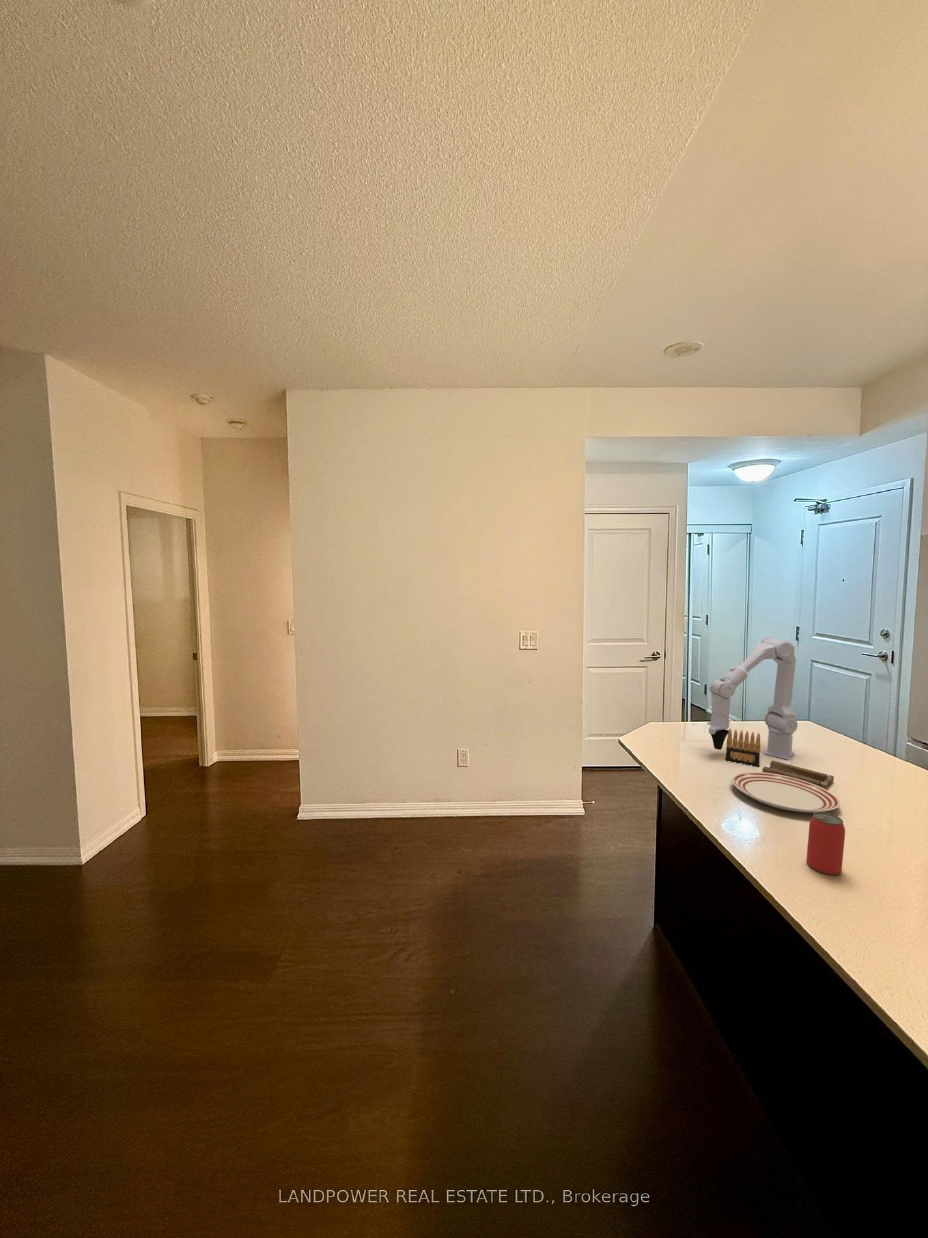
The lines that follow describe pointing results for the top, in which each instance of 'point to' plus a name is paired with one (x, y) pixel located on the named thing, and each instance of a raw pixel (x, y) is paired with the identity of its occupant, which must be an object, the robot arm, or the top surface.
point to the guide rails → (800, 774)
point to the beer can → (826, 843)
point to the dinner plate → (785, 792)
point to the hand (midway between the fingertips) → (717, 748)
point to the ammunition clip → (743, 749)
